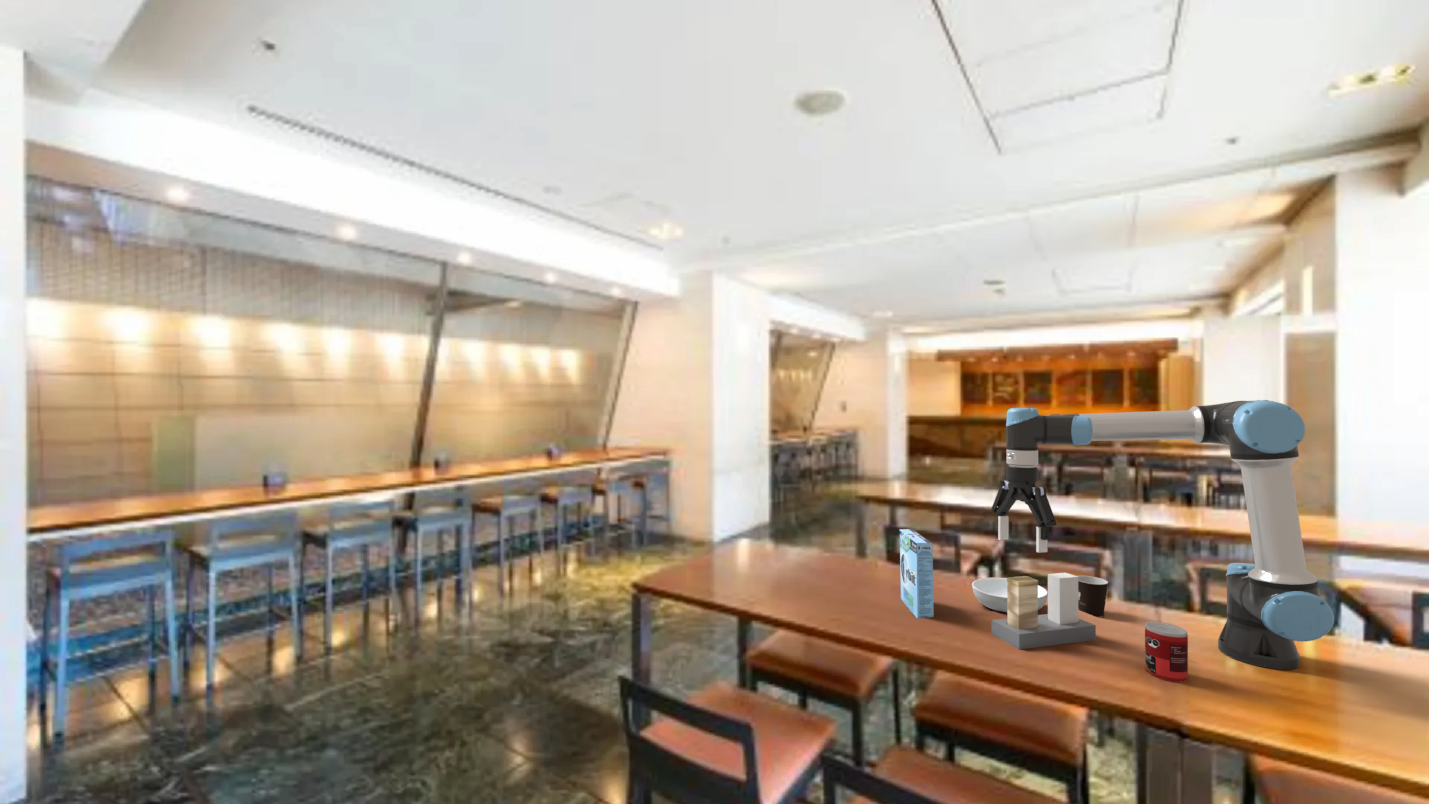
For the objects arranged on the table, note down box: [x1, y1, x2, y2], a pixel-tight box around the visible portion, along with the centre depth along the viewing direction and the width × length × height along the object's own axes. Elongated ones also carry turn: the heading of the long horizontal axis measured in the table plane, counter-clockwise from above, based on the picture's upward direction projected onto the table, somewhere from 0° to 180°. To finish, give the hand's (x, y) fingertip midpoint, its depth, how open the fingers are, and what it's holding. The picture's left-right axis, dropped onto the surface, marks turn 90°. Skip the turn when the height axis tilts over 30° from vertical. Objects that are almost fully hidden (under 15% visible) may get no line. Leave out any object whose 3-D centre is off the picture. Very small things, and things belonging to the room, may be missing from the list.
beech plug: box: [1006, 575, 1039, 629], centre depth 155 cm, size 4×6×16 cm
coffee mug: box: [1076, 575, 1109, 618], centre depth 179 cm, size 12×9×10 cm
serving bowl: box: [971, 577, 1048, 614], centre depth 181 cm, size 21×21×7 cm
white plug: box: [1047, 572, 1079, 625], centre depth 158 cm, size 4×6×16 cm, turn 104°
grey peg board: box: [991, 613, 1097, 650], centre depth 156 cm, size 10×24×5 cm, turn 104°
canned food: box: [1144, 621, 1189, 683], centre depth 137 cm, size 8×8×11 cm
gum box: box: [899, 528, 935, 620], centre depth 181 cm, size 20×5×23 cm, turn 177°
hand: (1021, 545), depth 155 cm, fingers open, 13 cm apart
